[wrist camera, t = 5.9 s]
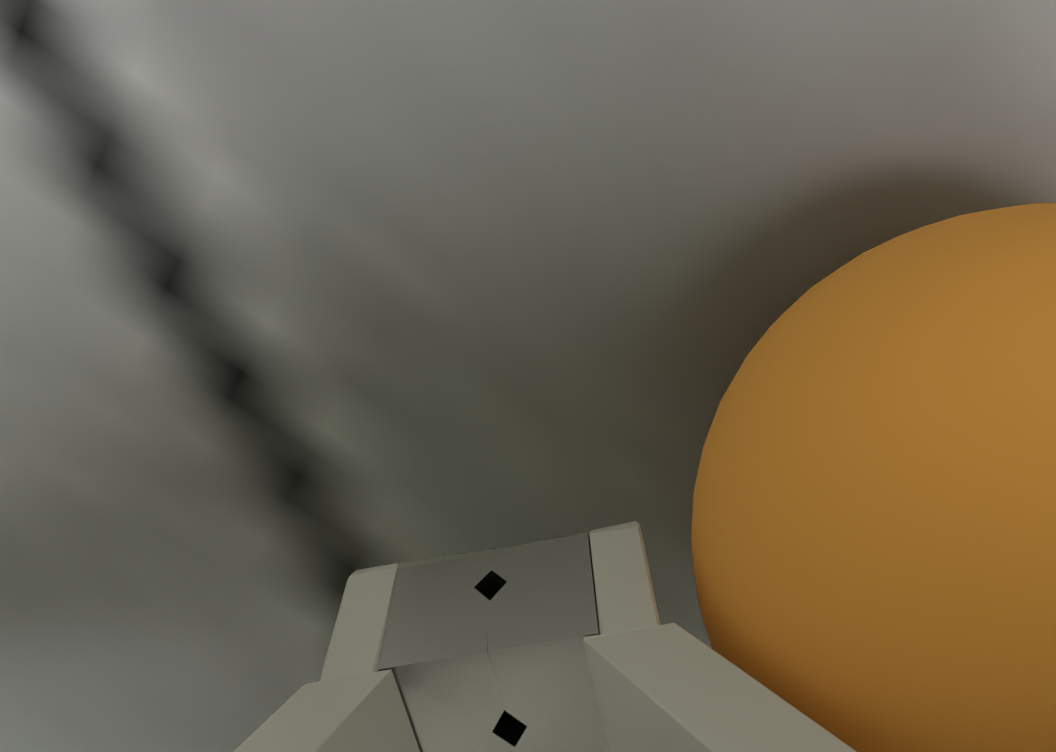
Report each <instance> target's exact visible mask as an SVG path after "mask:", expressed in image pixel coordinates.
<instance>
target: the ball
mask: <svg viewBox="0 0 1056 752" xmlns="http://www.w3.org/2000/svg"><path fill="white" fill-rule="evenodd" d="M691 547H692V559H693V567H694V575H695V584H696V591H697V597H698V602H699V607H700V611H701V615H702V618H703V622H704V625H705V628H706V631H707V634H708V637H709V640H710V643H711V646H712V648H713V650H715V651H716V652H717V653H719V654H720V655H722V656H723V657H725V658H726V659H727V660H729V661H730V662H732V663H733V664H734V665H736V666H737V667H739V668H740V669H741V670H743V671H744V672H746V673H747V674H748V675H750V676H751V677H753V678H754V679H755V680H757V681H758V682H760V683H761V684H762V685H764V686H765V687H767V688H768V689H769V690H771V691H772V692H774V693H775V694H776V695H778V696H779V697H781V698H782V699H783V700H785V701H786V702H788V703H789V704H790V705H792V706H793V707H795V708H796V709H797V710H799V711H800V712H802V713H803V714H804V715H806V716H807V717H809V718H810V719H811V720H813V721H814V722H816V723H817V724H818V725H820V726H821V727H823V728H824V729H825V730H827V731H828V732H830V733H831V734H833V735H834V736H835V737H837V738H838V739H840V740H841V741H842V742H844V743H845V744H847V745H848V746H849V747H851V748H852V749H854V750H855V751H856V752H1056V203H1031V204H1024V205H1017V206H1011V207H1004V208H997V209H991V210H985V211H980V212H974V213H968V214H963V215H959V216H956V217H952V218H949V219H946V220H943V221H939V222H936V223H933V224H929V225H926V226H923V227H921V228H918V229H915V230H913V231H910V232H907V233H905V234H902V235H899V236H897V237H895V238H893V239H891V240H889V241H886V242H884V243H882V244H880V245H878V246H876V247H874V248H872V249H870V250H868V251H866V252H864V253H862V254H860V255H859V256H857V257H856V258H854V259H853V260H851V261H849V262H848V263H846V264H845V265H843V266H842V267H840V268H839V269H837V270H836V271H834V272H833V273H831V274H830V275H828V276H827V277H825V278H824V279H823V280H821V281H820V282H818V283H817V284H815V285H814V286H812V287H811V288H810V289H809V290H808V291H807V292H805V293H804V294H803V295H802V296H801V297H800V298H799V299H798V300H797V301H796V302H795V303H794V304H793V305H791V306H790V307H789V308H788V309H787V310H786V311H785V312H784V313H783V314H782V315H781V316H780V317H779V318H778V319H777V320H776V321H775V322H774V323H773V324H772V325H771V326H770V327H769V329H768V330H767V331H766V332H765V334H764V335H763V336H762V337H761V339H760V340H759V341H758V342H757V344H756V345H755V346H754V347H753V349H752V350H751V351H750V352H749V354H748V355H747V356H746V358H745V360H744V361H743V363H742V365H741V366H740V368H739V370H738V371H737V373H736V375H735V377H734V378H733V380H732V382H731V384H730V385H729V387H728V389H727V391H726V392H725V394H724V396H723V398H722V399H721V401H720V404H719V406H718V409H717V411H716V414H715V417H714V419H713V422H712V424H711V427H710V430H709V432H708V435H707V438H706V441H705V444H704V446H703V450H702V454H701V459H700V464H699V469H698V473H697V478H696V483H695V489H694V495H693V512H692V533H691Z"/></svg>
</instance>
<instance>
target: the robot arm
mask: <svg viewBox="0 0 1056 752" xmlns="http://www.w3.org/2000/svg"><path fill="white" fill-rule="evenodd" d="M233 752H856V751H855V750H854V749H852V748H851V747H849V746H848V745H847V744H845V743H844V742H842V741H841V740H840V739H838V738H837V737H835V736H834V735H833V734H831V733H830V732H828V731H827V730H825V729H824V728H823V727H821V726H820V725H818V724H817V723H816V722H814V721H813V720H811V719H810V718H809V717H807V716H806V715H804V714H803V713H802V712H800V711H799V710H797V709H796V708H795V707H793V706H792V705H790V704H789V703H788V702H786V701H785V700H783V699H782V698H781V697H779V696H778V695H776V694H775V693H774V692H772V691H771V690H769V689H768V688H767V687H765V686H764V685H762V684H761V683H760V682H758V681H757V680H755V679H754V678H753V677H751V676H750V675H748V674H747V673H746V672H744V671H743V670H741V669H740V668H739V667H737V666H736V665H734V664H733V663H732V662H730V661H729V660H727V659H726V658H725V657H723V656H722V655H720V654H719V653H717V652H716V651H715V650H713V649H712V648H710V647H709V646H708V645H706V644H705V643H703V642H702V641H701V640H699V639H698V638H696V637H695V636H694V635H692V634H691V633H689V632H688V631H687V630H685V629H684V628H682V627H681V626H680V625H678V624H677V623H669V624H663V625H661V624H660V619H659V614H658V609H657V604H656V599H655V594H654V590H653V585H652V580H651V575H650V570H649V565H648V560H647V555H646V551H645V546H644V541H643V536H642V531H641V526H640V524H639V523H638V522H637V521H633V522H628V523H623V524H619V525H614V526H609V527H604V528H599V529H595V530H590V533H589V532H584V533H579V534H574V535H569V536H563V537H558V538H553V539H548V540H542V541H537V542H532V543H527V544H521V545H516V546H511V547H506V548H500V549H495V548H493V549H487V550H480V551H474V552H467V553H460V554H454V555H447V556H441V557H434V558H428V559H421V560H414V561H408V562H403V563H402V564H399V563H394V564H389V565H383V566H378V567H372V568H366V569H361V570H356V571H355V572H353V573H352V574H351V575H350V576H349V578H348V580H347V583H346V587H345V591H344V594H343V598H342V601H341V605H340V608H339V612H338V616H337V619H336V623H335V626H334V630H333V634H332V637H331V641H330V644H329V648H328V651H327V655H326V659H325V662H324V666H323V669H322V673H321V677H320V680H319V681H316V682H311V683H305V684H304V685H303V686H302V687H301V688H300V689H299V690H298V691H297V692H296V693H294V694H293V695H292V696H291V697H290V698H289V699H288V700H287V701H286V702H285V703H284V704H283V705H282V706H281V707H280V708H279V709H278V710H276V711H275V712H274V713H273V714H272V715H271V716H270V717H269V718H268V719H267V720H266V721H265V722H264V723H263V724H262V725H261V726H260V727H258V728H257V729H256V730H255V731H254V732H253V733H252V734H251V735H250V736H249V737H248V738H247V739H246V740H245V741H244V742H243V743H242V744H241V745H239V746H238V747H237V748H236V749H235V750H234V751H233Z"/></svg>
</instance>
